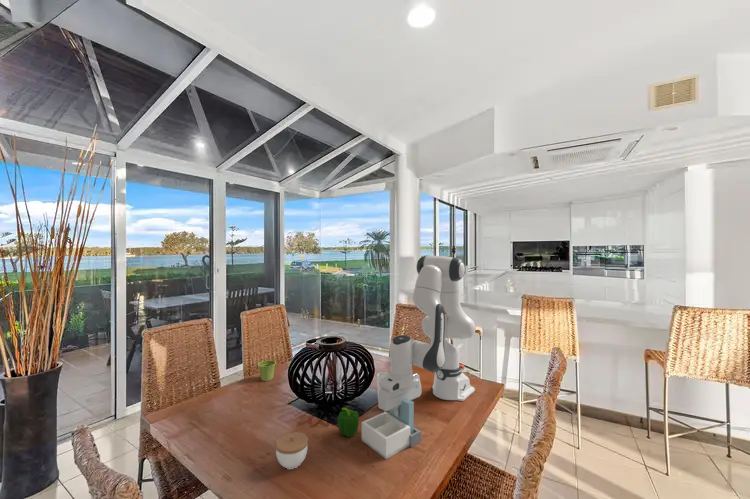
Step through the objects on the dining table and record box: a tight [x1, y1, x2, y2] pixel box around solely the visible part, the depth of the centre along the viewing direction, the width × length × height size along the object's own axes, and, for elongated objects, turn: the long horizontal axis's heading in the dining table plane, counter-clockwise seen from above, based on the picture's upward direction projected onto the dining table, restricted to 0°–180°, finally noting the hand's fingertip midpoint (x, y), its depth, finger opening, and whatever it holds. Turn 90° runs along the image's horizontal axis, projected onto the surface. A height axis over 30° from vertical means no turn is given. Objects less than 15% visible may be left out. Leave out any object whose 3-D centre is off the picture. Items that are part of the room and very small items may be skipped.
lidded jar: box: [274, 431, 309, 470], centre depth 112 cm, size 11×11×9 cm
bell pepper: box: [337, 407, 360, 438], centre depth 129 cm, size 8×8×10 cm
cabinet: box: [361, 411, 422, 460], centre depth 125 cm, size 17×16×7 cm
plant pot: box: [257, 359, 277, 382], centre depth 180 cm, size 9×9×9 cm
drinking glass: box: [376, 371, 390, 410], centre depth 149 cm, size 7×7×15 cm
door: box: [388, 399, 415, 435], centre depth 128 cm, size 3×11×12 cm, turn 40°
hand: (401, 413), depth 128 cm, fingers closed on door, 3 cm apart
